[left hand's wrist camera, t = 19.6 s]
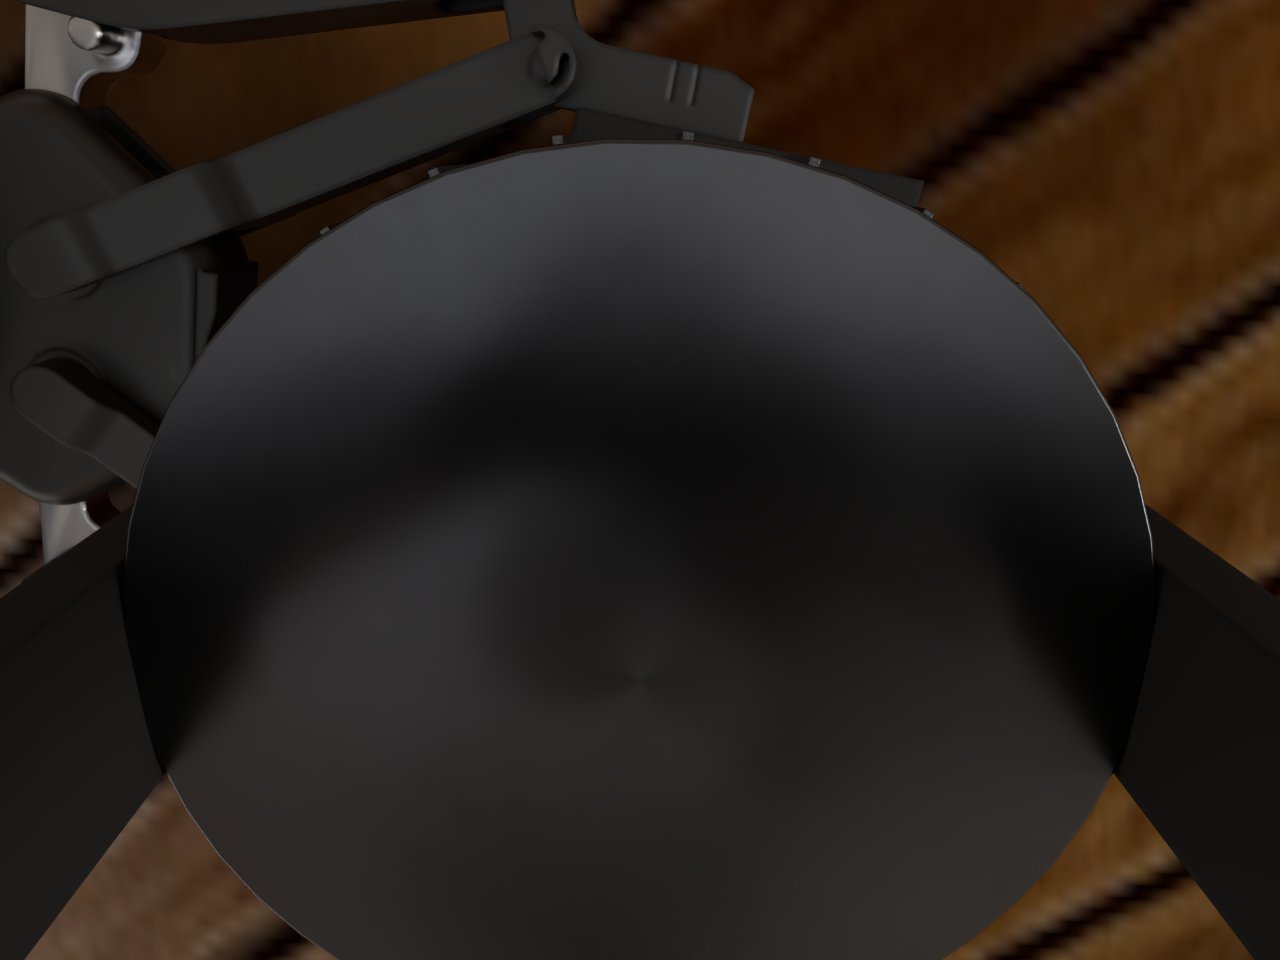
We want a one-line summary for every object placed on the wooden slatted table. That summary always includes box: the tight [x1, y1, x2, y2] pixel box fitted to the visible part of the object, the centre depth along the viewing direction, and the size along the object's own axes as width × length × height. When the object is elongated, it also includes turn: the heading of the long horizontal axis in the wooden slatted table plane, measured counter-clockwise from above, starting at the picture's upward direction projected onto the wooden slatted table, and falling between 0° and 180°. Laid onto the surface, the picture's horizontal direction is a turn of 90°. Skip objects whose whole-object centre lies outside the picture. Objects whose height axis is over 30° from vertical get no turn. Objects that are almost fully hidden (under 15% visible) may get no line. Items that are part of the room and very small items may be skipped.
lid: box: [123, 131, 1156, 960], centre depth 11 cm, size 11×11×2 cm
